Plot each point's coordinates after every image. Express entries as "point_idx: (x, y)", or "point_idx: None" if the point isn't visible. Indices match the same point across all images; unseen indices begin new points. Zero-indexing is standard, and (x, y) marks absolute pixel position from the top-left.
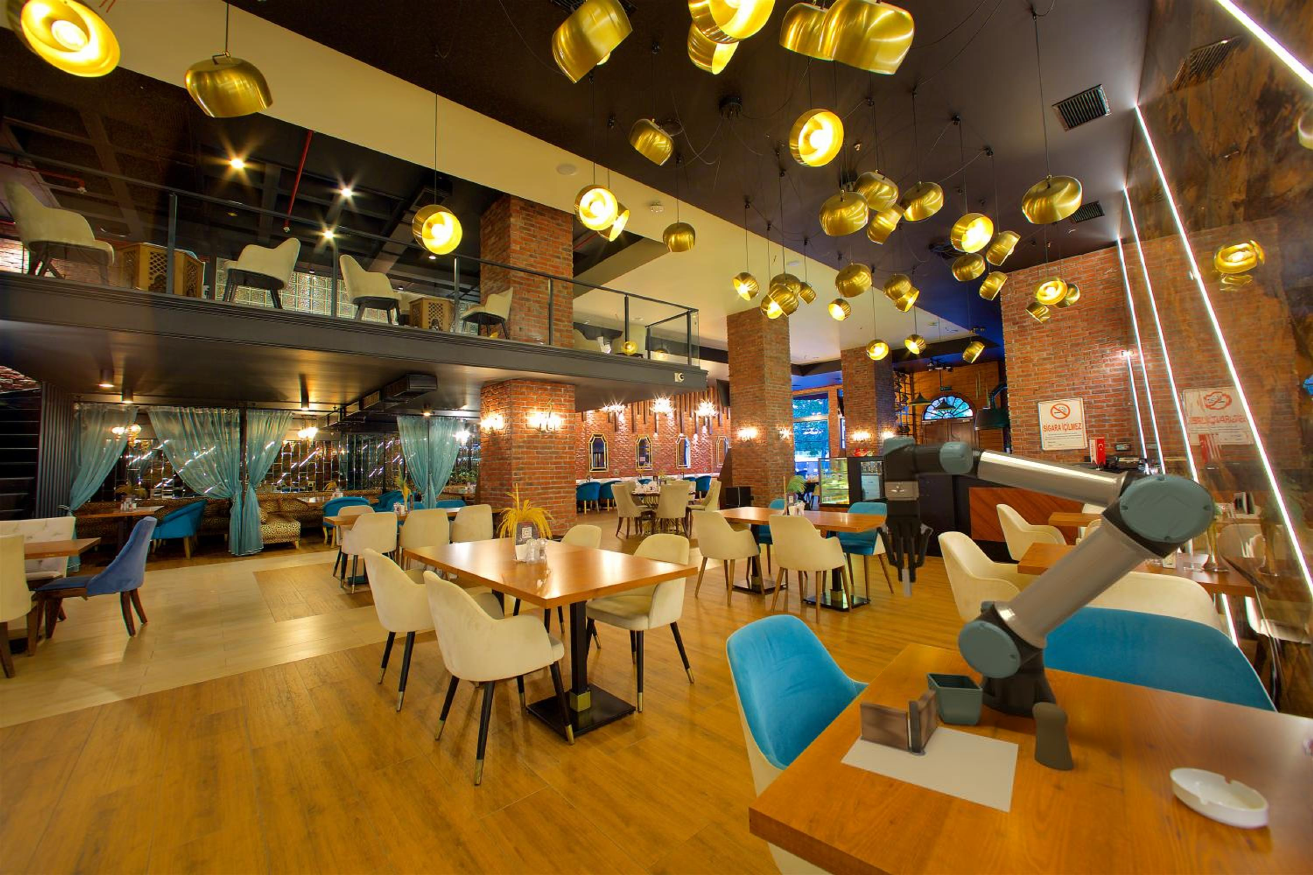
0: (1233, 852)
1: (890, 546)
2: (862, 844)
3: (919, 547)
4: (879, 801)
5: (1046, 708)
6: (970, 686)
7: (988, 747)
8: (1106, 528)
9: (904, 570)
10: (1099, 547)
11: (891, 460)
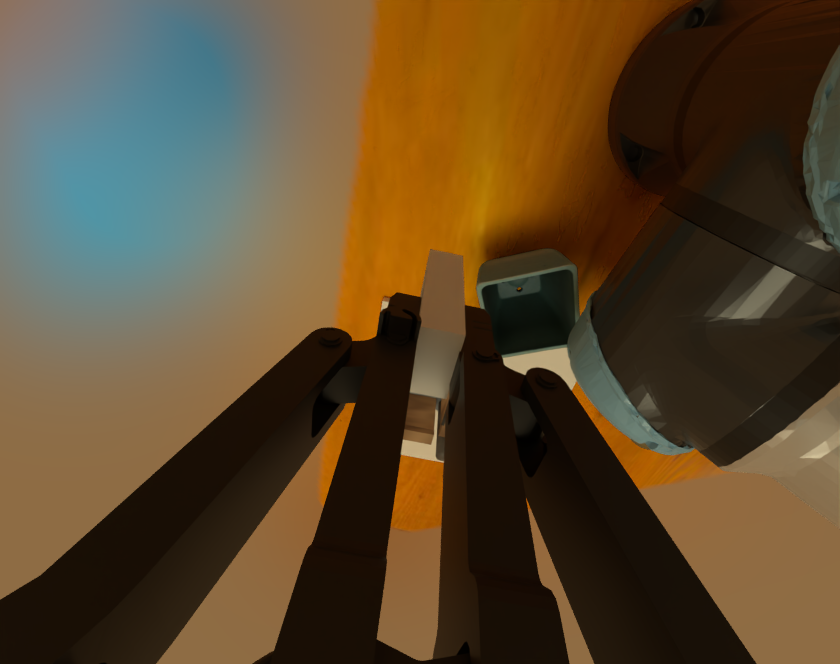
0: (711, 465)
1: (261, 482)
2: (401, 519)
3: (561, 580)
4: (408, 477)
5: (647, 447)
6: (568, 284)
7: (545, 365)
8: None
9: (420, 389)
10: None
11: None
